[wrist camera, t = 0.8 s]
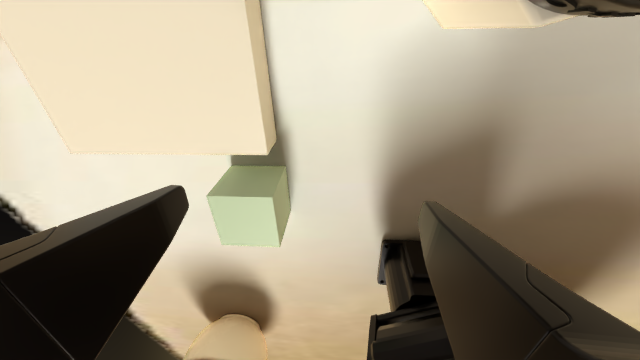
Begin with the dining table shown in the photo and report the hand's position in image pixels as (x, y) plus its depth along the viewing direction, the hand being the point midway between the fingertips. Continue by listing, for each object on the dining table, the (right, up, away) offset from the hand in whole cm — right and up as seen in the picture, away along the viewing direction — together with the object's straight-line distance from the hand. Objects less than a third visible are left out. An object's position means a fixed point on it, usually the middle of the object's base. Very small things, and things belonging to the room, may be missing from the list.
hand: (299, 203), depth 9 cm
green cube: (-5, 0, +15) cm, 15 cm away
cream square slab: (-11, +11, +8) cm, 18 cm away
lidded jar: (-11, -20, +28) cm, 36 cm away
